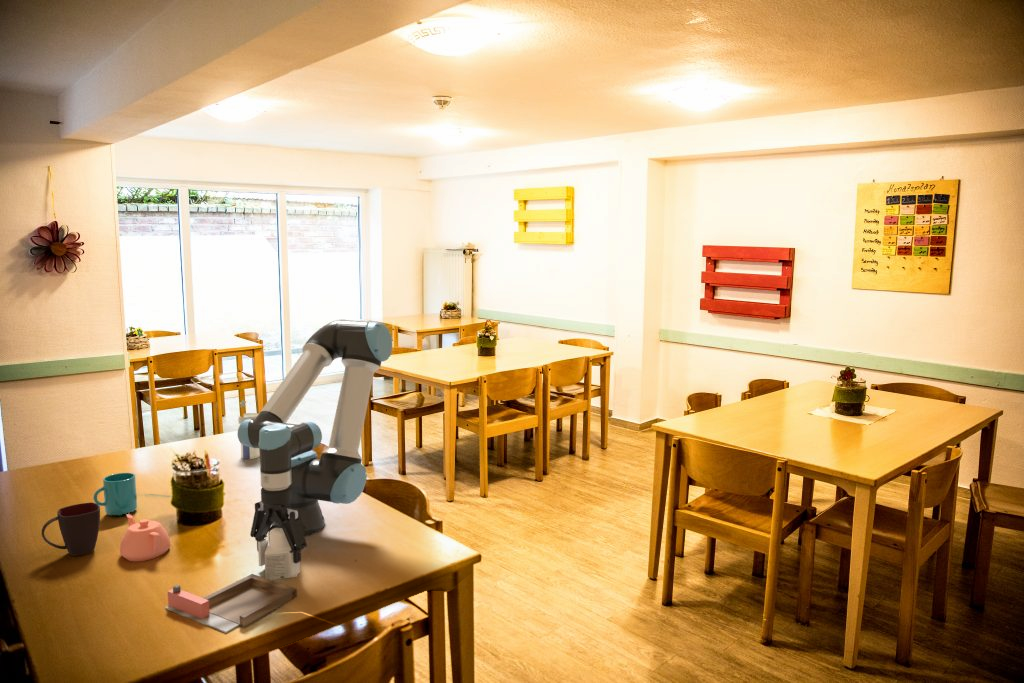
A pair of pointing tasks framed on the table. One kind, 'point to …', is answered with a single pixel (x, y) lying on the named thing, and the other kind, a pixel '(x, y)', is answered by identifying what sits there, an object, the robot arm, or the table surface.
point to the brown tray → (243, 603)
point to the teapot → (144, 540)
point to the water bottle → (245, 450)
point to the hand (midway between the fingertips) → (279, 569)
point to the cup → (118, 494)
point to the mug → (77, 527)
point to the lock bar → (188, 602)
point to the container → (277, 555)
